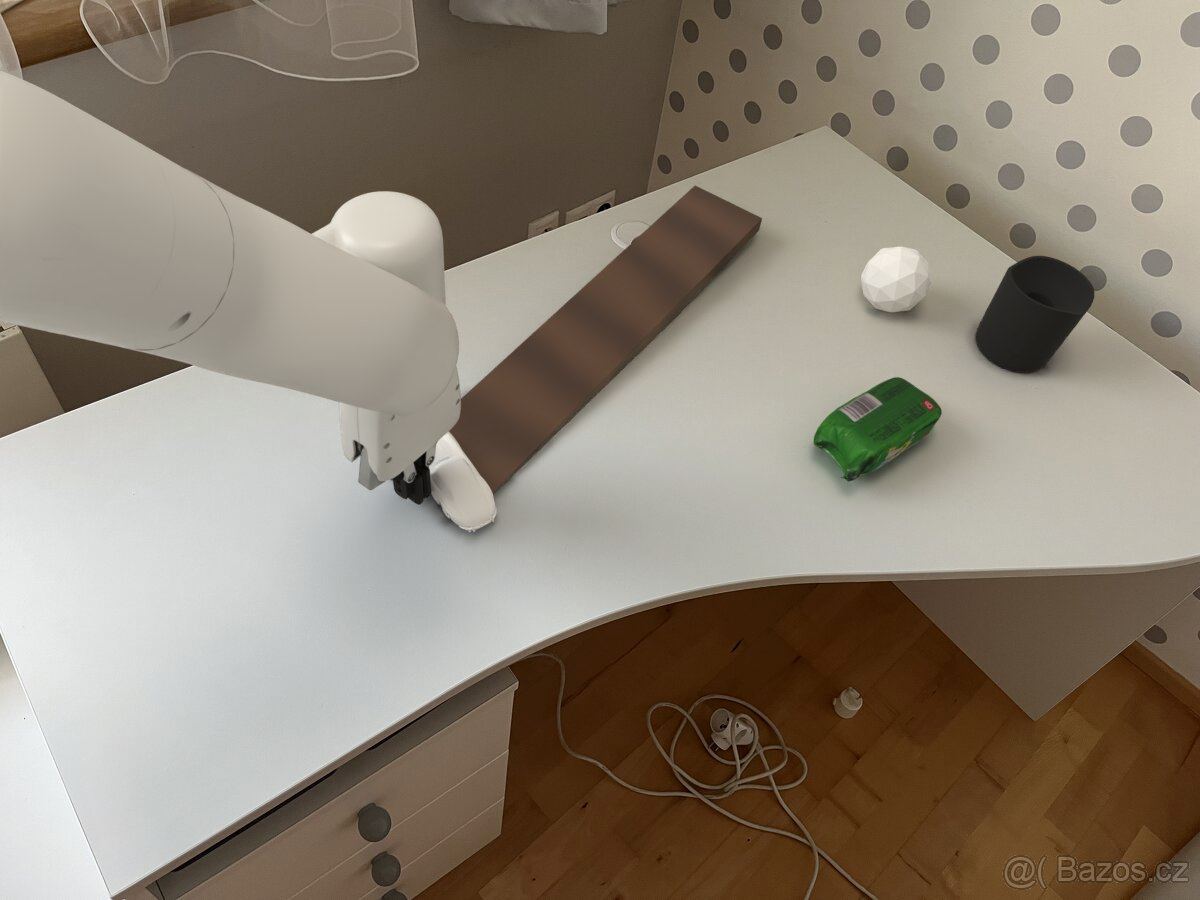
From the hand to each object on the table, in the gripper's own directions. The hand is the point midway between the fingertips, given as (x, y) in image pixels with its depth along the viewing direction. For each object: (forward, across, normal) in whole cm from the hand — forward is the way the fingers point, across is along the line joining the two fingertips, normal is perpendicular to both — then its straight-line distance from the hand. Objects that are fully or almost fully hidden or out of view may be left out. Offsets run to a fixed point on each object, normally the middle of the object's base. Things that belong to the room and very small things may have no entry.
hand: (412, 491), depth 82 cm
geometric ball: (+2, -57, +23) cm, 62 cm away
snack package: (+2, -35, +31) cm, 47 cm away
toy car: (+2, -4, +2) cm, 4 cm away
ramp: (+4, -29, 0) cm, 30 cm away
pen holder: (+2, -60, +38) cm, 71 cm away
